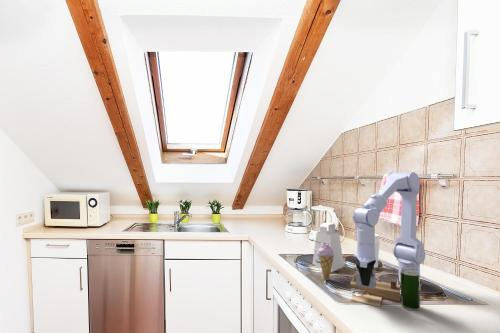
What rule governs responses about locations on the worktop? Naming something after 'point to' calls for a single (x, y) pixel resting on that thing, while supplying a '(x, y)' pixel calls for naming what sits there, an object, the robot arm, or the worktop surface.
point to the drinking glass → (376, 250)
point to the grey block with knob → (372, 280)
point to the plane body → (381, 289)
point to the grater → (333, 240)
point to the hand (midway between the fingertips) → (366, 282)
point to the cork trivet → (368, 299)
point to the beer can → (410, 288)
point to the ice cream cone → (325, 259)
